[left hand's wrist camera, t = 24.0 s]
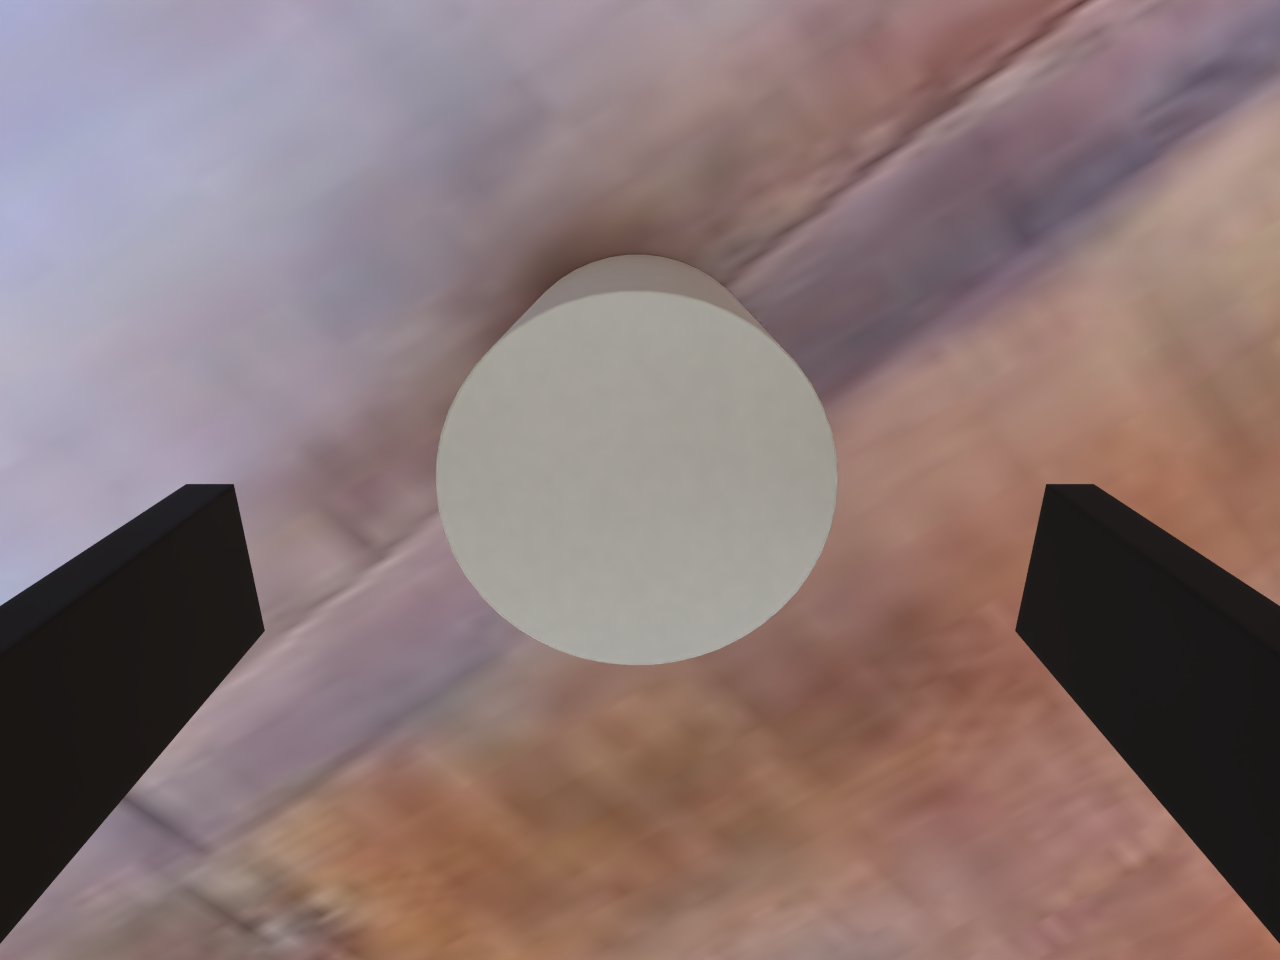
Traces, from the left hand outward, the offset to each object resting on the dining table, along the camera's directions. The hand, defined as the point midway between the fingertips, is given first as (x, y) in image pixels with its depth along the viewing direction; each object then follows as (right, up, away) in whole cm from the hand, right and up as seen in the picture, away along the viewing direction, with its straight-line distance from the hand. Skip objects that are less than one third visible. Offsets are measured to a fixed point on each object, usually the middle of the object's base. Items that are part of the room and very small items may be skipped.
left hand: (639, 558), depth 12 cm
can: (0, +4, +11) cm, 12 cm away
